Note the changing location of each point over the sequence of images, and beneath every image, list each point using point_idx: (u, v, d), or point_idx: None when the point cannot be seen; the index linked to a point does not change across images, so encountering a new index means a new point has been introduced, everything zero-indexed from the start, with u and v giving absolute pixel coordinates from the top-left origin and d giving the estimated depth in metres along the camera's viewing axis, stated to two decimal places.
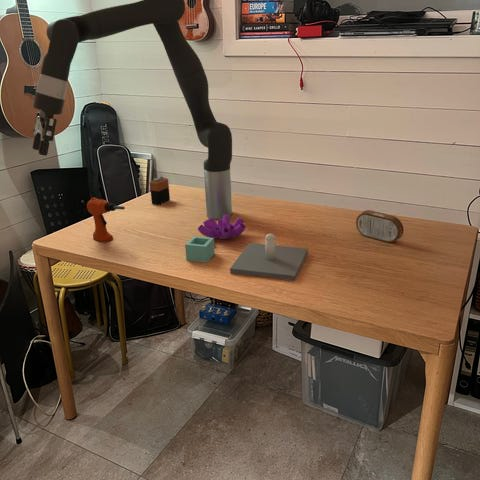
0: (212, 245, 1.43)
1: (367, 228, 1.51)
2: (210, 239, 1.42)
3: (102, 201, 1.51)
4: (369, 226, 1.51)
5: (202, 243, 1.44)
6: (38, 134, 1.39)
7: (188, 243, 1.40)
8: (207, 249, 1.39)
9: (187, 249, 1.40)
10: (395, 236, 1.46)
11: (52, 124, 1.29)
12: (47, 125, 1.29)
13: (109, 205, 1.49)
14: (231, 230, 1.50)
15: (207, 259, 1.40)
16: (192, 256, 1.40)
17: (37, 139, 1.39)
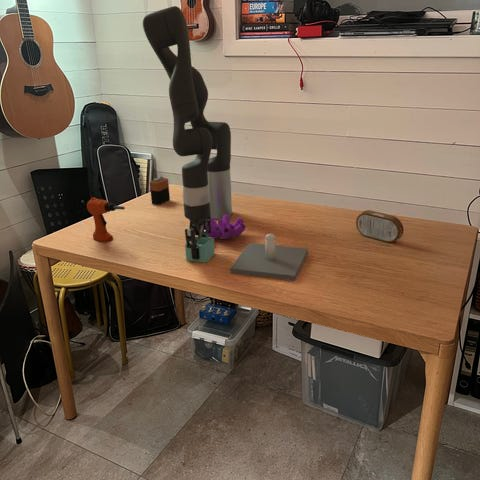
0: (212, 245, 1.43)
1: (367, 228, 1.51)
2: (210, 239, 1.42)
3: (102, 201, 1.51)
4: (369, 226, 1.51)
5: (202, 243, 1.44)
6: None
7: None
8: (207, 249, 1.39)
9: (187, 249, 1.40)
10: (395, 236, 1.46)
11: None
12: None
13: (109, 205, 1.49)
14: (231, 230, 1.50)
15: (207, 259, 1.40)
16: None
17: None
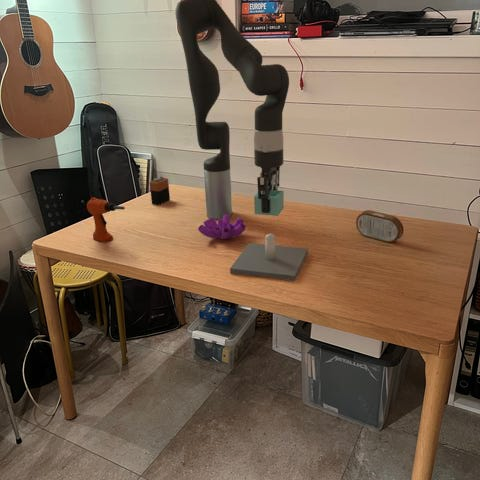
0: (282, 198, 1.31)
1: (367, 228, 1.51)
2: (280, 192, 1.31)
3: (102, 201, 1.51)
4: (369, 226, 1.51)
5: (270, 196, 1.32)
6: None
7: (257, 195, 1.28)
8: (278, 201, 1.27)
9: (256, 201, 1.28)
10: (395, 236, 1.46)
11: None
12: None
13: (109, 205, 1.49)
14: (231, 230, 1.50)
15: (278, 212, 1.28)
16: (261, 209, 1.29)
17: None
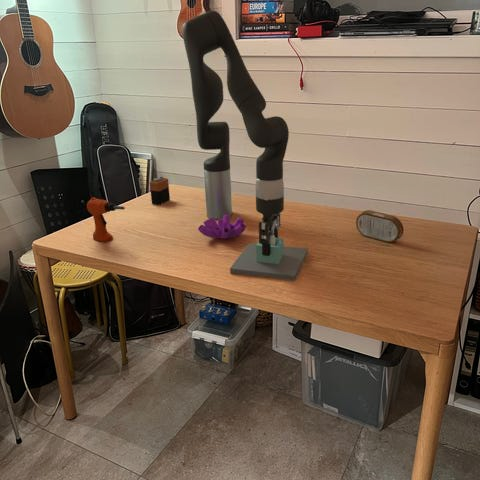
0: (282, 246, 1.37)
1: (367, 228, 1.51)
2: (280, 240, 1.36)
3: (102, 201, 1.51)
4: (369, 226, 1.51)
5: None
6: None
7: (259, 244, 1.34)
8: (279, 250, 1.33)
9: (258, 250, 1.34)
10: (395, 236, 1.46)
11: None
12: None
13: (109, 205, 1.49)
14: (231, 230, 1.50)
15: (279, 260, 1.34)
16: (263, 257, 1.34)
17: None
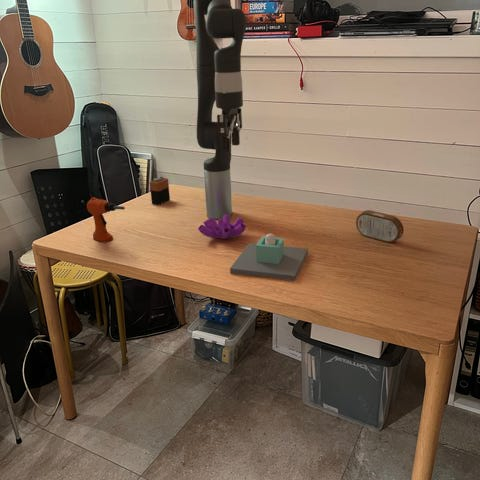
0: (282, 246, 1.37)
1: (367, 228, 1.51)
2: (280, 240, 1.36)
3: (102, 201, 1.51)
4: (369, 226, 1.51)
5: None
6: None
7: (259, 244, 1.34)
8: (279, 250, 1.33)
9: (258, 250, 1.34)
10: (395, 236, 1.46)
11: None
12: None
13: (109, 205, 1.49)
14: (231, 230, 1.50)
15: (279, 260, 1.34)
16: (263, 257, 1.34)
17: None
